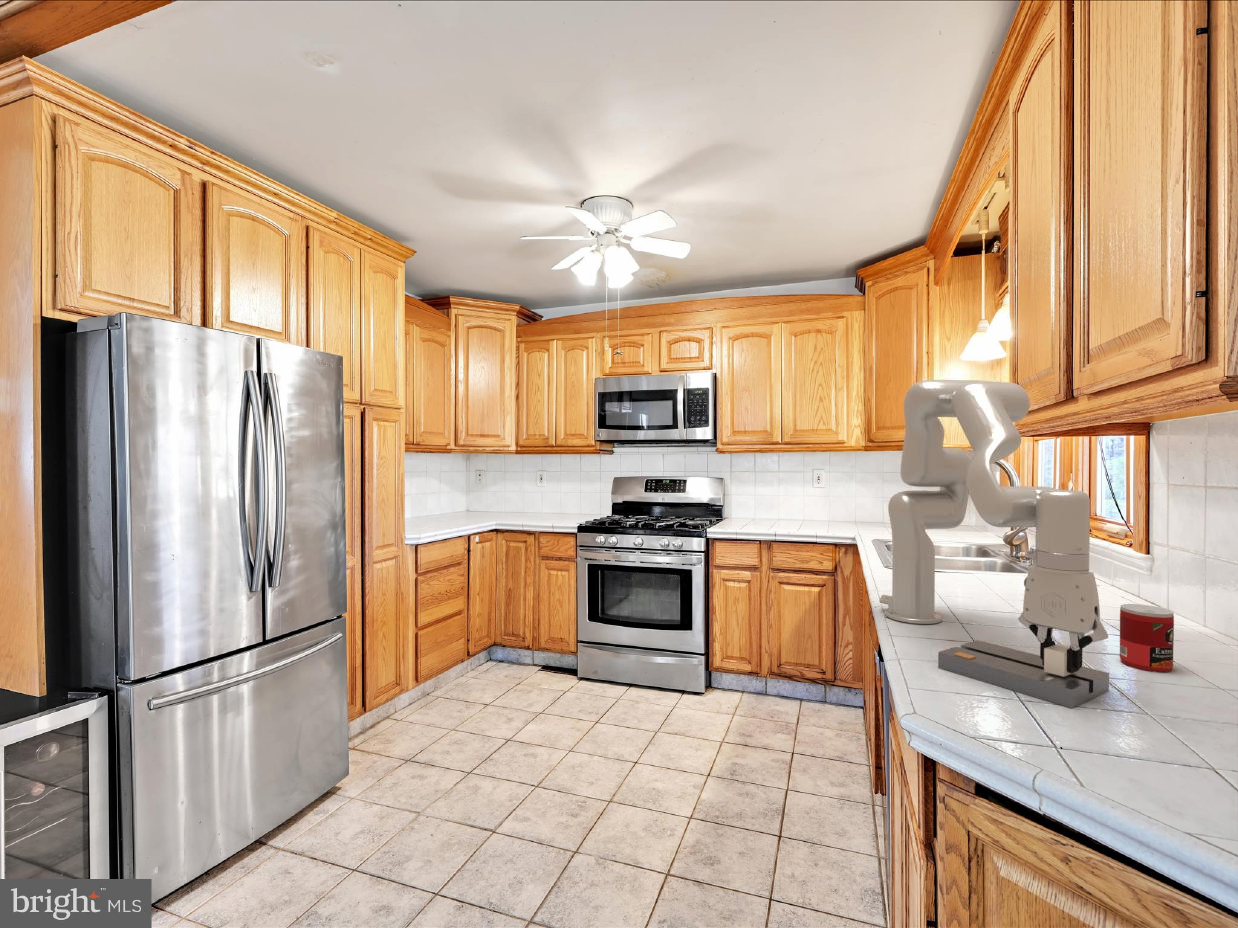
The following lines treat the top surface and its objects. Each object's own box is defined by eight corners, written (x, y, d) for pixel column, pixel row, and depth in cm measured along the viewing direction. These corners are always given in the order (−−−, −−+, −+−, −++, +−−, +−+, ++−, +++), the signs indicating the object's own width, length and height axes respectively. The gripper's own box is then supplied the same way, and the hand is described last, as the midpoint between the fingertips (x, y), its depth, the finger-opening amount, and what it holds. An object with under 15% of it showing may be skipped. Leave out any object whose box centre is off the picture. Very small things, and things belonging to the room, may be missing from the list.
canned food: (1159, 675, 112) (1160, 615, 112) (1110, 661, 120) (1110, 605, 119) (1182, 669, 115) (1183, 611, 115) (1132, 656, 123) (1133, 602, 123)
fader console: (938, 667, 116) (938, 650, 116) (977, 654, 124) (977, 639, 124) (1071, 708, 98) (1072, 688, 98) (1108, 690, 105) (1109, 671, 105)
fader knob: (1043, 682, 105) (1044, 648, 105) (1057, 677, 108) (1057, 643, 108) (1063, 688, 103) (1064, 653, 102) (1077, 682, 105) (1077, 647, 105)
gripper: (1000, 556, 110) (999, 658, 110) (1110, 571, 96) (1108, 687, 96) (1020, 553, 114) (1020, 651, 114) (1129, 567, 100) (1128, 678, 100)
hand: (1060, 667), depth 105 cm, fingers closed on fader knob, 3 cm apart
